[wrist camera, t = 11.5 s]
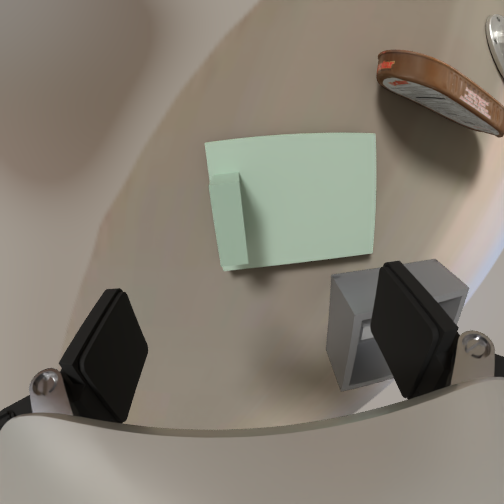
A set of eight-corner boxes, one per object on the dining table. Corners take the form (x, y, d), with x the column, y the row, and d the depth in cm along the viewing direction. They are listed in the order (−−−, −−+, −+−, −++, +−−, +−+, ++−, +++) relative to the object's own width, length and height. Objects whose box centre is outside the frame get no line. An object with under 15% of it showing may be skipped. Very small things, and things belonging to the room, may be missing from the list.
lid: (364, 132, 23) (401, 136, 17) (363, 244, 28) (393, 275, 22) (207, 141, 23) (197, 145, 17) (224, 260, 27) (221, 298, 21)
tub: (435, 258, 29) (469, 287, 22) (417, 328, 33) (441, 361, 27) (331, 274, 28) (354, 314, 22) (325, 349, 33) (340, 391, 27)
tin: (470, 111, 21) (522, 117, 13) (467, 135, 22) (520, 146, 15) (362, 57, 19) (411, 35, 12) (358, 85, 21) (408, 72, 13)
